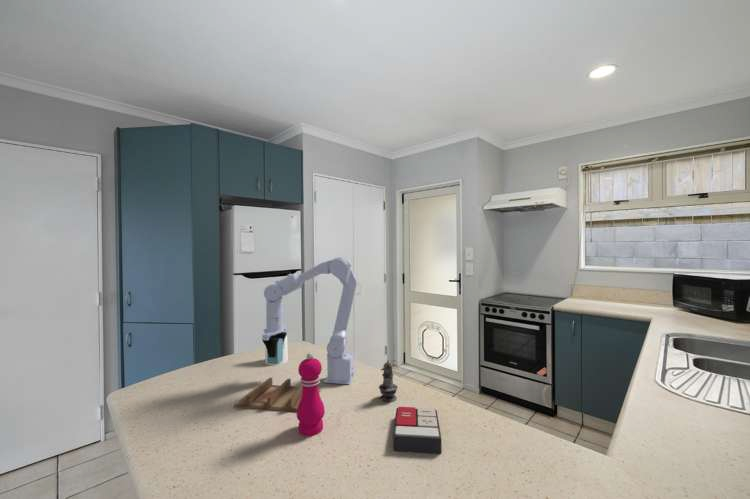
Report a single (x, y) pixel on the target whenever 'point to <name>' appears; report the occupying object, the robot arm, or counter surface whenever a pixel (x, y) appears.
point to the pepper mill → (310, 397)
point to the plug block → (279, 353)
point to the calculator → (417, 430)
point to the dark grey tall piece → (388, 384)
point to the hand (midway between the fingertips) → (275, 355)
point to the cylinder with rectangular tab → (285, 353)
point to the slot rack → (273, 397)
